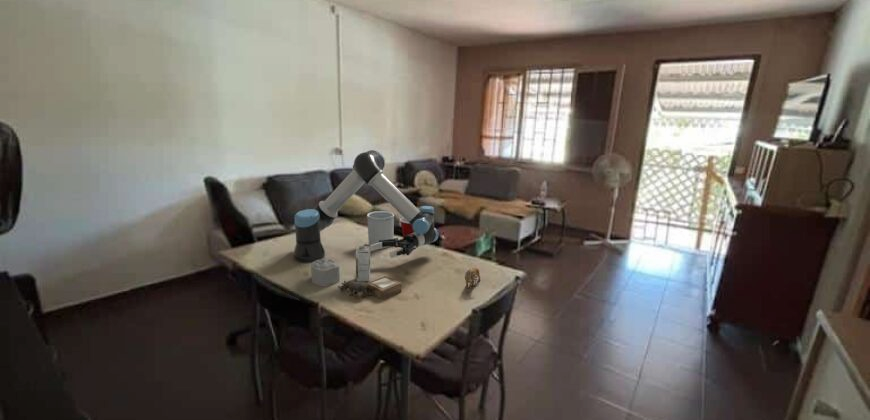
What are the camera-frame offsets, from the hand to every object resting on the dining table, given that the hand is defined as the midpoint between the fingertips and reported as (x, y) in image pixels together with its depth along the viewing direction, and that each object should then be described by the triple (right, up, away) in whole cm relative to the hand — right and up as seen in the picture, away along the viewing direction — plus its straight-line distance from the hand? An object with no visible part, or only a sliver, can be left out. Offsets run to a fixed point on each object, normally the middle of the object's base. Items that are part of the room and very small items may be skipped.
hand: (380, 251), depth 174 cm
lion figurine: (+41, -14, -8) cm, 44 cm away
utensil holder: (-6, -1, +41) cm, 41 cm away
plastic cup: (+9, +2, +52) cm, 52 cm away
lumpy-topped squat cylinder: (-24, -12, -6) cm, 27 cm away
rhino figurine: (-8, -16, -19) cm, 26 cm away
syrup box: (-7, -12, -4) cm, 14 cm away
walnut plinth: (+4, -15, -16) cm, 22 cm away
